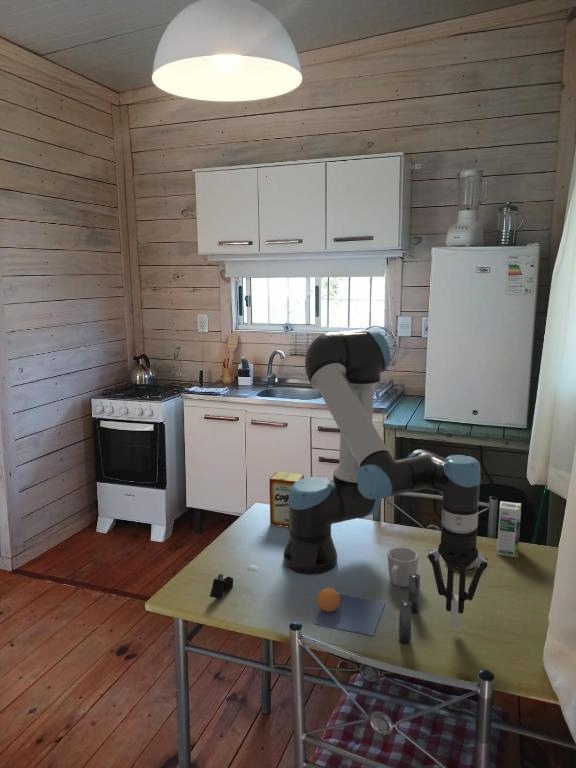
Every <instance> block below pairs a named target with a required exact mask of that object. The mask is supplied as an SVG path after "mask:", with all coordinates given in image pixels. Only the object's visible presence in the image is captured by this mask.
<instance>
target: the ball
mask: <svg viewBox="0 0 576 768" xmlns="http://www.w3.org/2000/svg"><path fill="white" fill-rule="evenodd" d="M339 594H340V593H339V592H338V591H337V590H335V589H333V588H331V587H326V588H324V589H321V590H320V591H319V593H318V595H317V598H316V599H317V605H318V607H319V608H320V610H321V609H322V610H323V611H325V612H333V611H335V610H336V609H337V608H338V607H339V604H340V596H339Z"/></svg>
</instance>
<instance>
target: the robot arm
mask: <svg viewBox="0 0 576 768" xmlns="http://www.w3.org/2000/svg"><path fill="white" fill-rule="evenodd" d="M391 358H392V357H391V348H390V345H389V343H388V341H387V340H386V337H385V336H384V335H383V333H381V332H380V331H378V330H375V329H354V330H344V331H328V332H325V333H322V334H321V335H319V336H317V337H316V338H315V339H314V340H313V341H312V342H311V343H310V345H309V347H308V349H307V351H306V354H305V358H304V370H305V374H306V377H307V380H308V381H309V382H310V385H311V388H312V389H314V390H316V391H318V392H319V394H320V396H321V398H322V399H323V401H324V403H325V405H326V407H327V408H328V409H327V410H329V411H328V412H330V414H331V416H332V418H333V420H334V422H335V424H336V426H337V427H338V429H339V430H340V432H339V433H340V434H339V435H340V436H339V458H338V459H339V460H338V461H339V462H338V466H337V467H336V468H334V470H333V476H332V480H330V479H329V478H327V477H324V476H316V477H315V476H308V477H304V478H303V479H301V480H298V481H297V482H295V483H294V484H293V485H292V487H291V488H290V492H289V501H288V503H289V527H288V528H289V529H288V530H289V531H288V533H289V535H288V539H287V542H286V545H285V547H284V550H283V565H284V566H285V567H286V569H288V570H290V571H291V572H294V573H298V574H302V575H320V574H324V573H327V572H330V571H332V570H333V569H334V568H336V566H337V565H338V553H337V549H336V545H335V543H334V541H333V538H332V525H333V524H338V523H343V522H346V521H351V520H355V519H356V520H357V519H363V518H365V517H367V516H371V515H373V514H375V513H377V511H378V510H379V508H380V507H381V505H382V500H383V499H387V498H389V497H391V496H396V495H400V494H405V493H406V494H407V493H412V492H418V491H421V490H426V489H430V490H432V491H434V492H436V493H438V494H441V495H442V504H441V505H442V507H441V509H442V510H441V524H442V525H441V527H440V528H441V530H440V543H439V545H438V547H437V548H436V549H429V551H428V554H427V559H428V560H429V562H430V563H431V566H432V570H433V575H434V580H435V585H436V589H437V593H438V595H439V596H444V597H445V599H446V600H445V601H446V602H445V610H446V612H450V623H449V624H450V625H449V627H450V628H455V629H457V628H458V623H459V614H460V615H461V614H464V611H465V601H472V600H473V599H474V596H475V593H476V591H477V588H478V584H479V582H480V579H481V577H482V574H483V572H484V571H485V570H486V569H487V568H488V562H489V560H488V558H487V557H483V556H482V555H480V554H479V550H478V548H477V540H478V538H477V537H478V530H477V529H478V525H479V503H480V501H479V500H480V490H481V489H480V487H481V481H482V478H481V463H480V461H479V460H478V459H476V458H475V457H473V456H468V455H465V454H451V455H448V456H447V457H446V458H444V457H442V456H440V455H438V454H436V453H434V452H432V451H430V450H429V451H427V450H425V449H415V450H414V451H413V452H411V453H409V454H408V455H407V456H406V458H399V459H394V458H393V456H392V455H391V453H390V450H389V449H388V448H387V446H386V444H385V442H384V441H383V439H382V437H381V436H380V434H379V432H378V430H377V429H376V427H375V425H374V423H373V412H374V411H373V410H374V394H375V392H374V391H375V387H376V386H377V385H378V384H379V383H380V382H381V373H383V372H385V371H387V370H388V368H389V367H390V363H391ZM440 556H441V559H442V560H443V561H444V563H445V564H446V565H447V574H446V575H447V576H446V577H447V580H446V586H445V582H444V581H445V580H444V577H443V574H442V572H443V571H442V568H441V563H440ZM475 560H476V567H475V570H474V573H473V576H472V578H471V581H470V584H469V587H468V590H467V591H466V581H467V579H466V578H467V569H466V568H467V567H468V566H469V565H471V564H472V563H473V562H474V561H475ZM456 567H458V568H460V569H459V577H458V578H459V579H458V580H459V581H458V582H459V584H458V594H454V580H455V579H454V577H455V568H456ZM458 568H457V569H458Z"/></svg>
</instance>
